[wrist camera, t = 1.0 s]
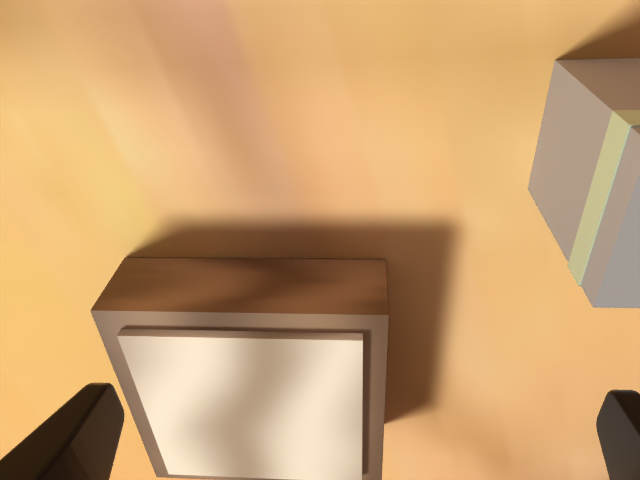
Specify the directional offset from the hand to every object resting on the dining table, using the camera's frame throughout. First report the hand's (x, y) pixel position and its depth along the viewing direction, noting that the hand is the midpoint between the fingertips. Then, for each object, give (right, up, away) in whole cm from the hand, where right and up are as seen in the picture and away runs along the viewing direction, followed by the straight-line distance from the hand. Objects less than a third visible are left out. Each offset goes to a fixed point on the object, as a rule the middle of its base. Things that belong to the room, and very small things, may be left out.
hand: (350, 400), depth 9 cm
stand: (-3, -3, +17) cm, 18 cm away
